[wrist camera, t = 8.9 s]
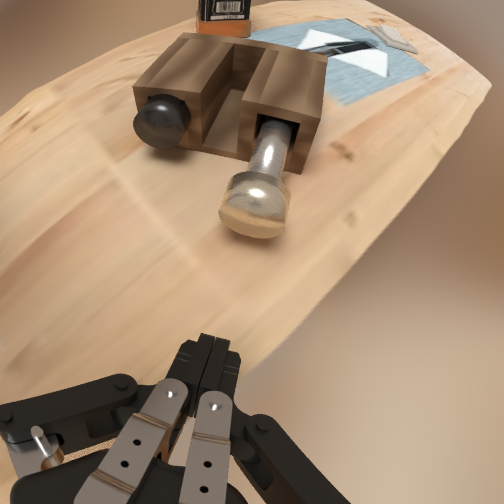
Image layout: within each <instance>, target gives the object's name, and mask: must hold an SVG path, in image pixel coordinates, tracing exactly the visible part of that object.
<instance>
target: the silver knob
mask: <svg viewBox="0 0 504 504" xmlns="http://www.w3.org/2000/svg"><path fill="white" fill-rule="evenodd" d="M293 124H294V122H293V121H289V120H285V119H281V118H277V117H273V116H269V115H265V118H264V121H263V124H262V127H261V130H260V133H259V136H258V139H257V142H256V145H255V148H254V151H253V154H252V157H251V160H250V163H249V166H248V169H247V172H241V173H238V174H236V175H234V176H233V177H232V178H231V179H230V181H229V183H228V186H227V189H226V192H225V194H224V197H223V200H222V203H221V206H220V209H219V217H220V219H221V221H222V222H223V223H224V224H225V225H226V226H227V227H229V228H230V229H232V230H233V231H235V232H237V233H240V234H242V235H245V236H249V237H254V238H272V237H276V236H278V235H280V234H281V233H282V232H283V231H284V229H285V224H286V219H287V214H288V209H289V204H290V200H291V194H290V191H289V189H288V187H287V186H286V185H285V184H284V183H283V182H282V181H281V177H282V173H283V169H284V164H285V160H286V155H287V151H288V147H289V142H290V138H291V133H292V129H293Z"/></svg>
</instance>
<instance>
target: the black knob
mask: <svg viewBox="0 0 504 504" xmlns="http://www.w3.org/2000/svg"><path fill="white" fill-rule="evenodd" d="M190 122H191V112H190V110H189V108H188V107H187V105H186V104H185V100H180V99H179V98H177V97H175V96H173V95H169V94H156V95H153V96H152V97H150V98H149V99H148V100H147V102H146V103H145V104H144V106H143V107H142V108H141V110H140V111H139V112H138V114H137V115H136V117H135V118H134V121H133V127H134V130H135V132H136V134H137V135H138V137H139V138H140V139H141V140H142V141H144V142H145V143H147V144H148V145H150V146H153V147H155V148H159V149H170V148H173V147H175V146H177V145H178V144H179V142H180V141H181V139H182V137H183V135H184V133H185V132H186V130H187V128H188V126H189V124H190Z"/></svg>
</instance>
